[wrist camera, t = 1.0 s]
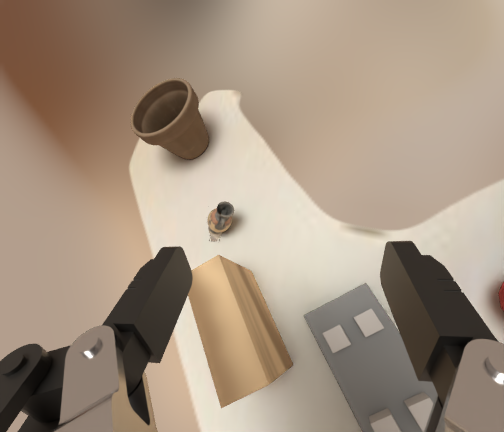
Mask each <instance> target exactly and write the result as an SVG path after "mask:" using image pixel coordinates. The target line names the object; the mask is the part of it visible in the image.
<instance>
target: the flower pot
mask: <svg viewBox="0 0 504 432" xmlns="http://www.w3.org/2000/svg"><path fill="white" fill-rule="evenodd" d="M198 106H199V102H198V97H197V95H196V94H195V92H194V90H193V89H192V87H191V85H190V84H189V83H188V82H187V81H186V80H184V79H180V78H173V79H168V80H165V81H163V82H161V83H159V84H157V85H155V86H154V87H152V88H151V89H150V90H149V91H147V92H146V93H145V94H144V95H143V96H142V97H141V99H140V100H139V101H138V103H137V104H136V106H135V108H134V110H133V112H132V115H131V128H132V130H133V131H134V133H135V134H136V135H137V136H139V137H140V138H141V139H142V140H143V141H145V142H146V143H148V144H151V145H160V146H161V147H163V148H165V149H167V150H168V151H170V152H172V153H174V154H176V155H178V156H180V157H182V158H184V159H194V158H196V157H198V156H199V155H201V154H202V153H203V152H204V151H205V149H206V148H207V146H208V143H209V137H208V133H207V131H206V128H205V125H204V123H203V120H202V118H201V115H200V113H199V110H198Z"/></svg>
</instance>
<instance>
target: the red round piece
mask: <svg viewBox="0 0 504 432" xmlns="http://www.w3.org/2000/svg"><path fill="white" fill-rule="evenodd" d="M498 294H499V299H500V305H501V308H502V309H503V311H504V282H503V284H502V286H501V289H500V291H499V293H498Z"/></svg>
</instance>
